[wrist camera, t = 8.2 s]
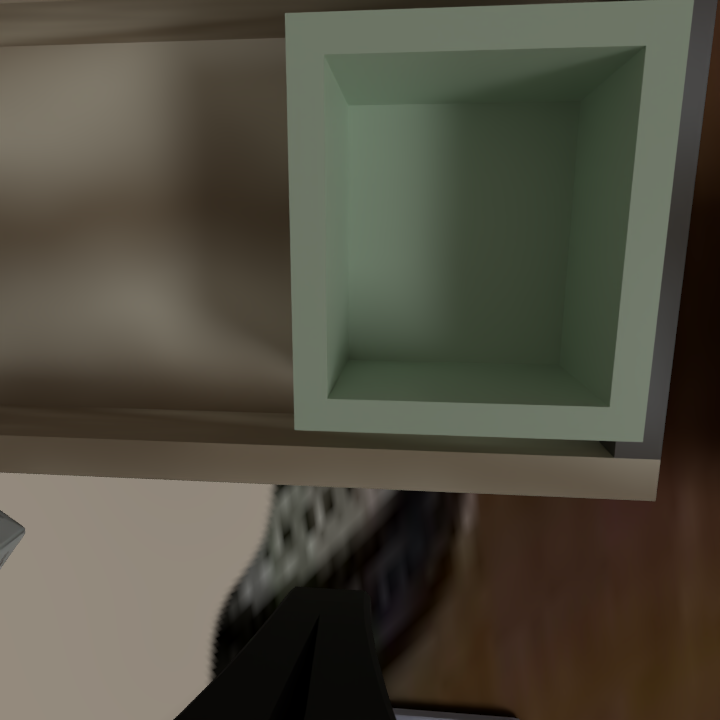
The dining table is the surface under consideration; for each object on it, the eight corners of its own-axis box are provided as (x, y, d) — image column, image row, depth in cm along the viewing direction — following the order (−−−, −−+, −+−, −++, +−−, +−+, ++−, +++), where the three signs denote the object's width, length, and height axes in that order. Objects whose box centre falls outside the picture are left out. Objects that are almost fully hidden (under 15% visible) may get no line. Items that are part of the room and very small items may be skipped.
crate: (577, 384, 18) (643, 442, 13) (327, 377, 18) (294, 430, 13) (603, 77, 16) (694, -2, 11) (324, 83, 16) (284, 12, 11)
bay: (605, 448, 19) (655, 501, 15) (6, 426, 21) (-86, 468, 17) (651, -7, 16) (727, -86, 12) (-50, 18, 18) (-177, -43, 14)
